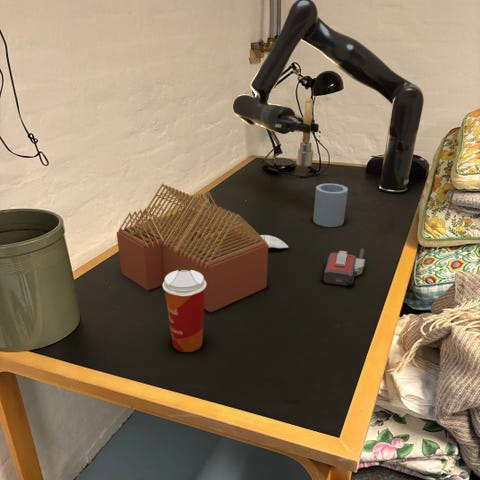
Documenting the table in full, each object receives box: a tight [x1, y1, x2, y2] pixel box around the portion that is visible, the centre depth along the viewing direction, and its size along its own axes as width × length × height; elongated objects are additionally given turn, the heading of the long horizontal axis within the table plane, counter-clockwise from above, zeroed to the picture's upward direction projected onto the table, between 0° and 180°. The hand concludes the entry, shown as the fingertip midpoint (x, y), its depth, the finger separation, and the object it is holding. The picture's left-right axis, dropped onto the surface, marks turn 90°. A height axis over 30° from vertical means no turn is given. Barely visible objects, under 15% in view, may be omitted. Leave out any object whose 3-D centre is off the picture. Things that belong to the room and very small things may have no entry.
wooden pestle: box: [295, 97, 314, 167], centre depth 144 cm, size 5×5×18 cm
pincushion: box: [256, 227, 289, 249], centre depth 131 cm, size 12×6×6 cm, turn 81°
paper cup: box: [162, 270, 206, 353], centre depth 91 cm, size 8×8×14 cm
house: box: [116, 182, 269, 313], centre depth 112 cm, size 28×23×19 cm
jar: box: [312, 182, 349, 228], centre depth 146 cm, size 9×9×10 cm
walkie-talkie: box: [323, 247, 366, 287], centre depth 121 cm, size 9×4×20 cm
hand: (313, 128), depth 141 cm, fingers closed on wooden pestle
